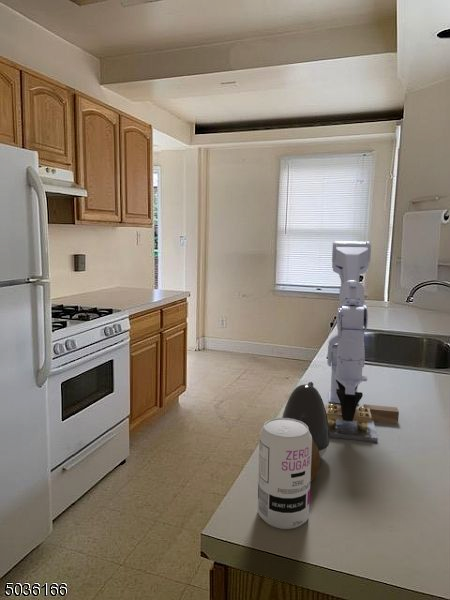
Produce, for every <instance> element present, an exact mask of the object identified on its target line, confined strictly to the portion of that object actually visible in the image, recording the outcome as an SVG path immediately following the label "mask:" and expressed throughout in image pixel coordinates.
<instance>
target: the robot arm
mask: <svg viewBox="0 0 450 600" xmlns="http://www.w3.org/2000/svg"><path fill="white" fill-rule="evenodd" d="M371 244H372V243H371V242H370V241H369V240H368V241H344V240H343V241H341V240H340V241H339V240H338V241H337V240H334V241H333V242H332V248H331V249H332V250H331V254H332V255H331V269H332V272H333V273H336V274H338V275H339V276H338V277H339V279H340V286H339V296H338V297H339V299H338V301H339V305H338V306H339V307H338V308H337V313H336V316H337V317H336V328H337V333H336V334H334V335H333V336H331V337H330V338H329V340H328V345H327V363H326V364H327V365H328V367H331V374H330V375H331V377H330V379H331V380H330V389H329V390H328V402H329V403H330V404H339V405H340V406H341V411H342V418H343V421H353V418H354V415H355V411H356V408H357V407H358V406H359V405H360V401H361V400H362V398H363V397H364V395H363V392H359V391H358V386H359V385H360V384H361V383H362V382H368V376H366V375H363V368H365V363H366V362H365V360H366V352H365V351H366V349H365V346H366V345H365V332H366V331H367V330H368V329H367V328H368V323H369V313H368V312H369V311H368V307H367V303H366V302H365V301H366V297H365V286H364V285H363V284H362V283H360V276H361V275H362V274H363V275H364V274H365V273H367V271H368V269H369V265H370V262H371V254H372V245H371ZM363 329H364V330H363Z"/></svg>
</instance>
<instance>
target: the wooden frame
mask: <svg viewBox="0 0 450 600" xmlns="http://www.w3.org/2000/svg"><path fill="white" fill-rule="evenodd" d="M325 410H326V415H327V418H329V419H339V420H343V418H342V411H341V405H337V404H336V405H335V404H334V413H330V404H327V403H326V404H325ZM361 412H362V411H360V407H358V406H357V408H356V411H355V415H354V418H353V421H359V422H369V423H371V422H372V417H371V413H370V409H369V408H365V411H364V412H366V417H365V416H361Z"/></svg>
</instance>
